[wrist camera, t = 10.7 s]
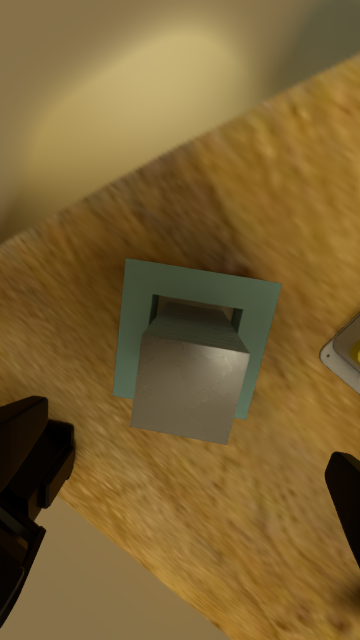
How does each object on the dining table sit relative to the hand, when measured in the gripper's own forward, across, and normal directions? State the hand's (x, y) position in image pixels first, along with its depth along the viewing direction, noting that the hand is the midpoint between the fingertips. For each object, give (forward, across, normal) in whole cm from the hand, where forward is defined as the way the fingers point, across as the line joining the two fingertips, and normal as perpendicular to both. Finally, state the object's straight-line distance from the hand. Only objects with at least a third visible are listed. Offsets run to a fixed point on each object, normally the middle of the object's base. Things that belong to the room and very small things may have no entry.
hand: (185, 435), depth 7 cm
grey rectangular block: (+12, 0, 0) cm, 12 cm away
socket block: (+13, 0, 0) cm, 13 cm away
